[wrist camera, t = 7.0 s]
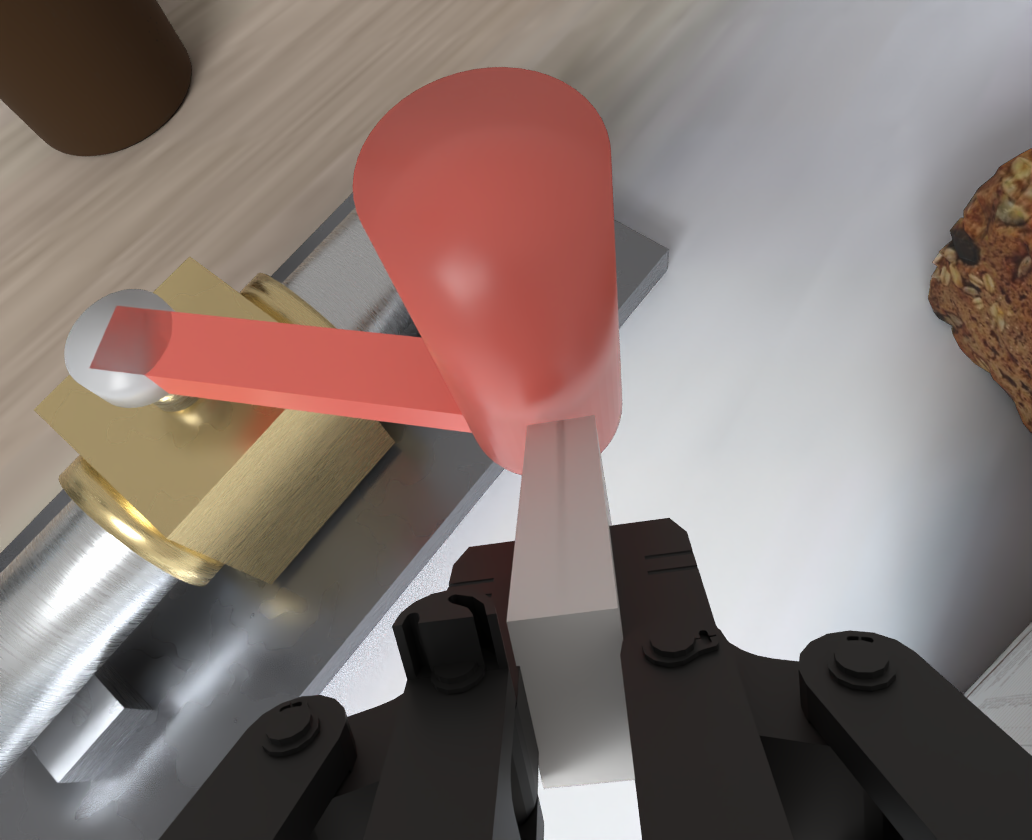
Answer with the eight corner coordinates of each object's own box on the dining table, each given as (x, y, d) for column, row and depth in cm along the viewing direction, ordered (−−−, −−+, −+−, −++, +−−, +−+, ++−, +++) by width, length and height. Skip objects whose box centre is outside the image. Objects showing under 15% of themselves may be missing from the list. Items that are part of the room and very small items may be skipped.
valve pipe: (90, 973, 26) (-229, 1106, 17) (-108, 701, 31) (-444, 681, 21) (667, 269, 34) (679, 77, 24) (434, 139, 39) (366, -64, 29)
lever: (70, 413, 22) (-272, 214, 14) (121, 294, 23) (-159, 49, 15) (610, 489, 19) (588, 288, 11) (632, 346, 20) (628, 70, 12)
